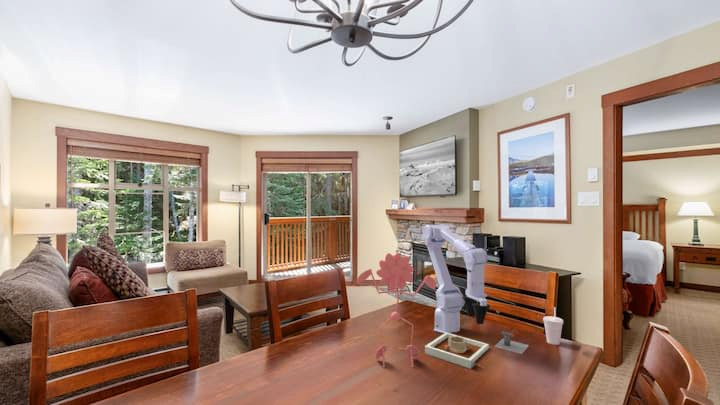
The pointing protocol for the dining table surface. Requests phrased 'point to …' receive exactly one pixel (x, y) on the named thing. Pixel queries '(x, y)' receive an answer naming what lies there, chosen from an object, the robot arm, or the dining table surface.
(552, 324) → the smoothie
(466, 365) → the tray
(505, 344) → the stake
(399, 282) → the figurine
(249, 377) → the dining table surface
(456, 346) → the collar
